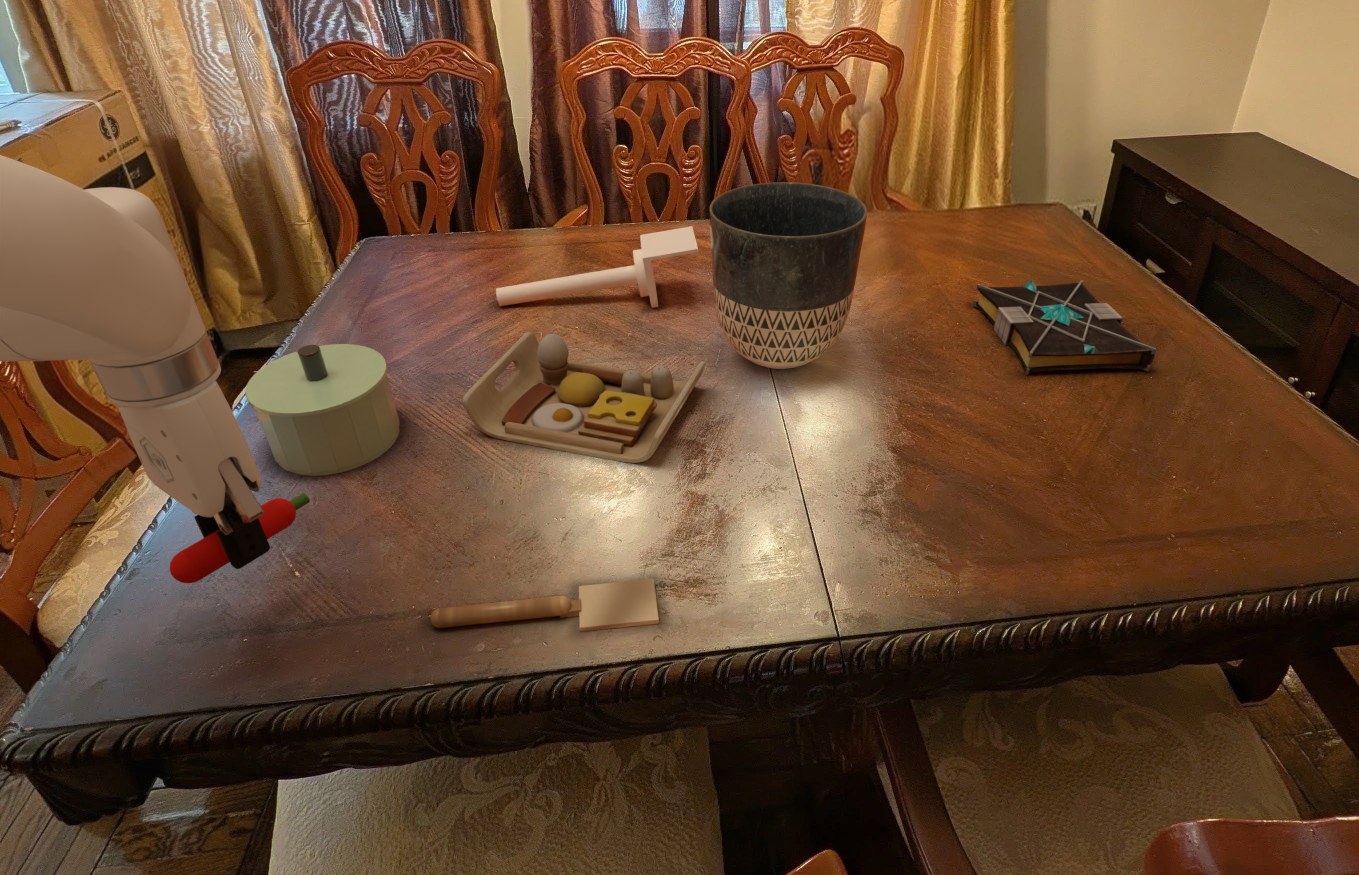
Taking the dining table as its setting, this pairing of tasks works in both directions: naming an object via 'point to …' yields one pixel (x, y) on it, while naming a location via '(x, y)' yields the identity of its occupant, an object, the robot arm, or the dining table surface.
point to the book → (1061, 328)
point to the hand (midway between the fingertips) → (240, 549)
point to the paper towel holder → (610, 271)
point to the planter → (784, 268)
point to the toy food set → (576, 402)
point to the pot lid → (316, 380)
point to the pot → (334, 435)
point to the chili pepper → (210, 551)
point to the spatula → (566, 608)
